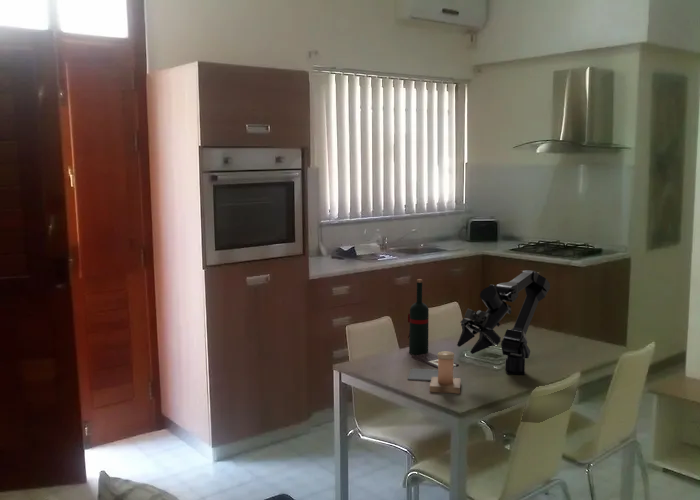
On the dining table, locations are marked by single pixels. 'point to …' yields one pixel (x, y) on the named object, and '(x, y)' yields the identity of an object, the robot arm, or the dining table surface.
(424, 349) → the wine bottle
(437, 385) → the plate
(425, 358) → the chocolate bar
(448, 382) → the tan cylindrical piece
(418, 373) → the mat
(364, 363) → the dining table surface
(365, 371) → the dining table surface
